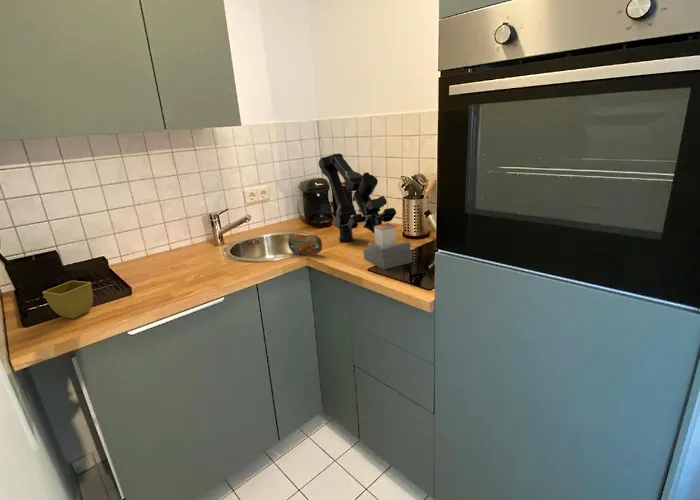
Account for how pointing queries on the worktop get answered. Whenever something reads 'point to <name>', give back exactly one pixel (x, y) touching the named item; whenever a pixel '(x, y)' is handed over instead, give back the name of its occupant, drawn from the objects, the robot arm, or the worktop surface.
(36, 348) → the worktop surface
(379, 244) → the white block
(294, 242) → the tin
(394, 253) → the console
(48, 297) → the flower pot
